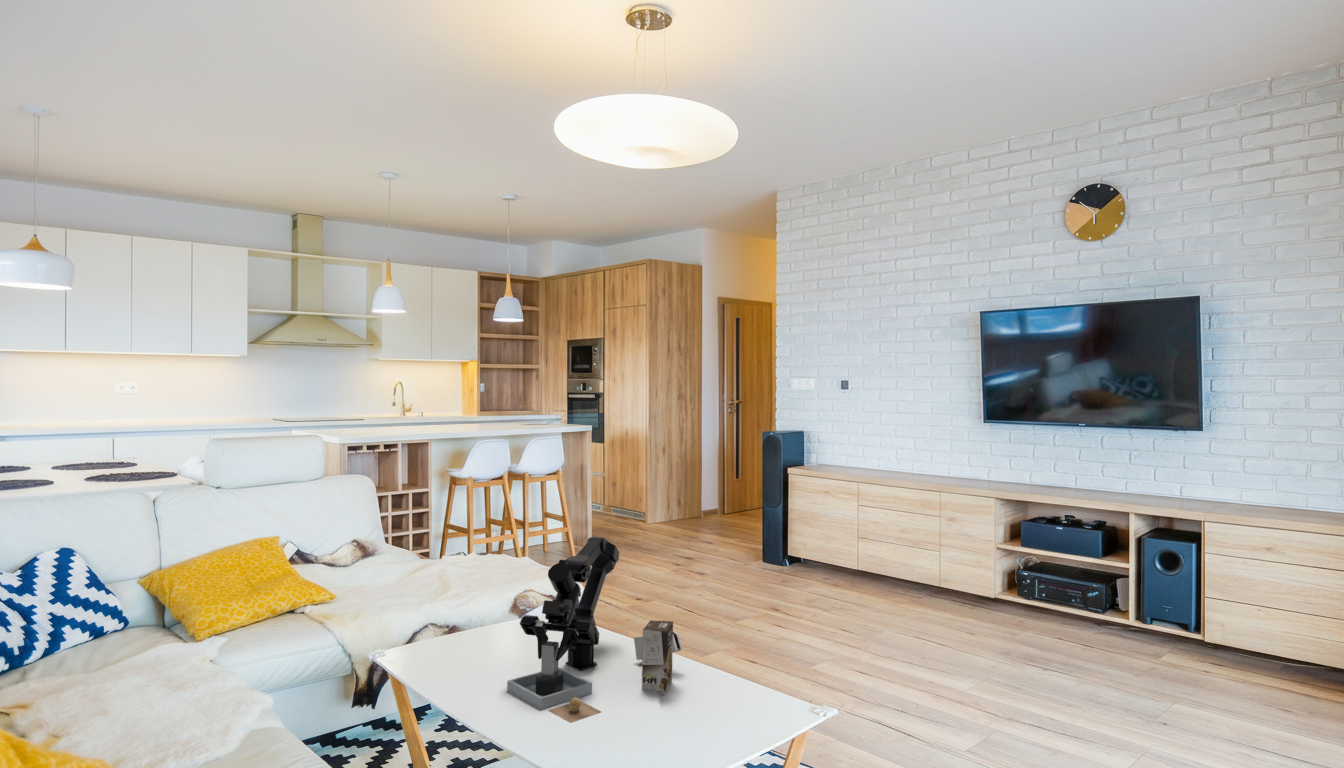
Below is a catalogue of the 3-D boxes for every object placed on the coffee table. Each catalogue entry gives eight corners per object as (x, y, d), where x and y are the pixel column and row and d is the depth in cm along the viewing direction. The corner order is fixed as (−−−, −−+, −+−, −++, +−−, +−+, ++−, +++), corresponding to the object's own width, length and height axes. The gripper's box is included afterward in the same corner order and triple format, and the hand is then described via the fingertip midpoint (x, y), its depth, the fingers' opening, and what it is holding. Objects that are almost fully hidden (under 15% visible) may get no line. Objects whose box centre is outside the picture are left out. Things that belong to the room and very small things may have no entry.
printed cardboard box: (636, 674, 213) (676, 665, 204) (632, 637, 217) (671, 626, 208) (646, 673, 216) (686, 664, 207) (642, 636, 220) (681, 626, 211)
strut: (543, 687, 195) (544, 639, 195) (563, 689, 194) (564, 641, 194) (535, 694, 190) (536, 645, 190) (555, 697, 189) (556, 647, 189)
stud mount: (579, 704, 187) (579, 687, 187) (601, 716, 180) (602, 698, 180) (547, 714, 181) (548, 697, 181) (570, 727, 174) (570, 708, 174)
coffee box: (665, 695, 193) (666, 631, 193) (640, 693, 194) (641, 629, 195) (673, 682, 202) (674, 620, 202) (649, 680, 203) (650, 619, 204)
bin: (557, 680, 202) (557, 666, 202) (591, 697, 191) (592, 683, 191) (507, 694, 192) (507, 680, 192) (540, 713, 181) (541, 698, 181)
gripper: (523, 583, 198) (503, 639, 187) (592, 589, 194) (575, 647, 183) (535, 606, 206) (516, 661, 195) (601, 612, 201) (586, 669, 190)
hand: (548, 659), depth 190 cm, fingers open, 4 cm apart
